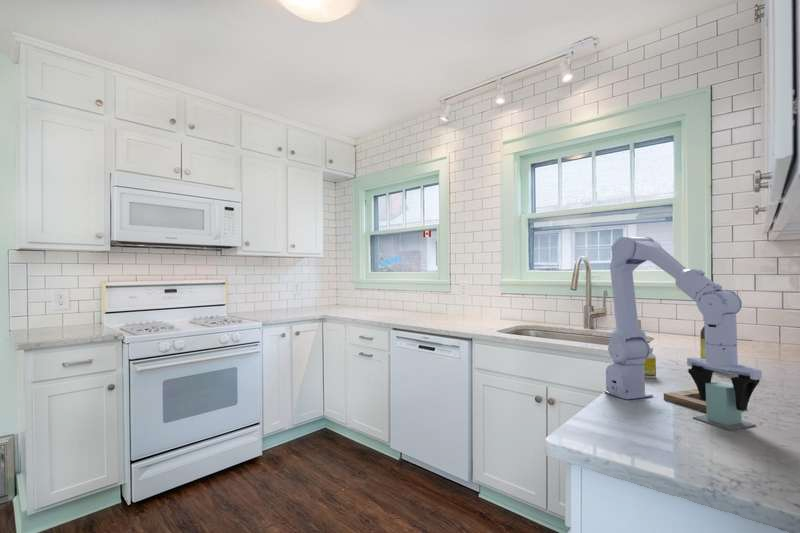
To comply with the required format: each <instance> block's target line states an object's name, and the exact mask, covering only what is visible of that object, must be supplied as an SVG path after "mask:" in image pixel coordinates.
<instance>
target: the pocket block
mask: <svg viewBox="0 0 800 533" xmlns="http://www.w3.org/2000/svg"><path fill="white" fill-rule="evenodd" d="M663 400H665V401H669V402H671V403H674V404H678V405H681V406H684V407H687V408H691V409H694V410H697V411H701V412H704V413H706V400H701V397H700V394H699V391H698V388H696V389H695V388H694V389H687V390H679V391H671V392H663Z"/></svg>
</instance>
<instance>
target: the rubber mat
mask: <svg viewBox="0 0 800 533" xmlns="http://www.w3.org/2000/svg"><path fill="white" fill-rule="evenodd" d="M692 419H694V420H697V421H700V422H703V423H706V424H709V425H712V426H714V427H715V426H716V427H718V428H721V429H724V430H728V431H735V430H741V429H747V428H752V427H754V428H755V427H757V424H755V423H752V422H748V421H745V420H742V419H741V422H742V423H738V424H732V425H725V424H722V423H719V422H716V421H713V420H709V419H707V414H704V415H697V416H693V417H692Z"/></svg>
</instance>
